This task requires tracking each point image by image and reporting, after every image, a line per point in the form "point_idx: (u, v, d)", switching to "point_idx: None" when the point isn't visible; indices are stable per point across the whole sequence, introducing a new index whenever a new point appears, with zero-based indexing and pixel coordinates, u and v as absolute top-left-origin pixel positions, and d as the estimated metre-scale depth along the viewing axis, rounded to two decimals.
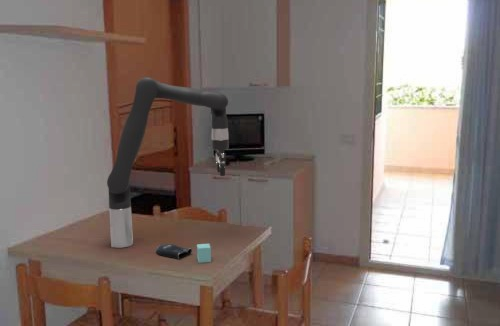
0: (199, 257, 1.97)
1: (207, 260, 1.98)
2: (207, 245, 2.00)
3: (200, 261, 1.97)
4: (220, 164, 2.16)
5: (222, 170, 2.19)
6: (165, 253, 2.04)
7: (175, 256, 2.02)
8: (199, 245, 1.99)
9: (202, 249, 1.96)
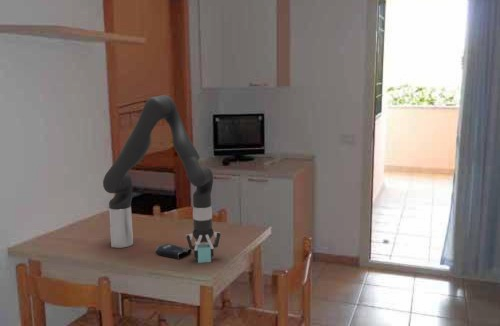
0: (199, 257, 1.97)
1: (207, 260, 1.98)
2: (207, 245, 2.00)
3: (200, 261, 1.97)
4: (217, 244, 1.99)
5: None
6: (165, 253, 2.04)
7: (175, 256, 2.02)
8: (199, 245, 1.99)
9: (202, 249, 1.96)
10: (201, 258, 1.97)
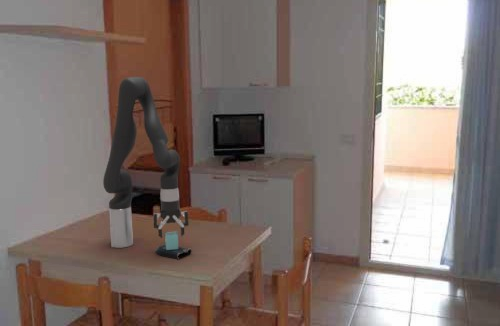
0: (167, 244, 2.04)
1: (174, 247, 2.05)
2: (175, 232, 2.07)
3: (168, 248, 2.05)
4: None
5: None
6: (165, 253, 2.04)
7: (175, 256, 2.02)
8: (167, 233, 2.07)
9: (169, 236, 2.04)
10: (169, 245, 2.05)
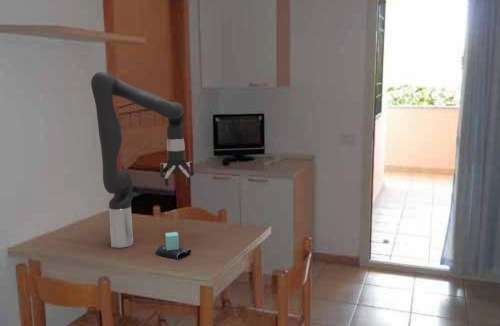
0: (167, 245, 2.04)
1: (175, 248, 2.05)
2: (175, 233, 2.07)
3: (168, 249, 2.04)
4: (193, 172, 2.15)
5: (189, 179, 2.17)
6: (164, 254, 2.04)
7: (174, 257, 2.01)
8: (168, 233, 2.06)
9: (170, 237, 2.03)
10: (169, 246, 2.04)
